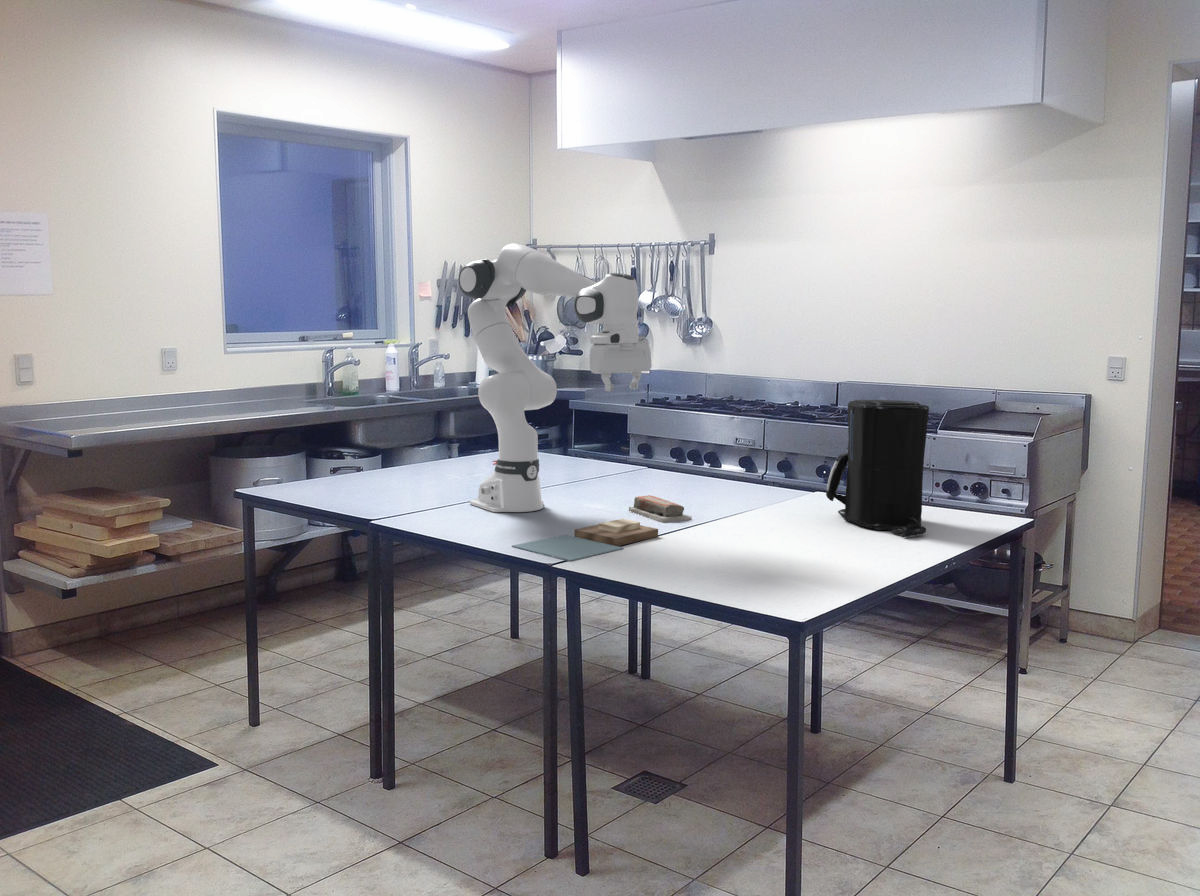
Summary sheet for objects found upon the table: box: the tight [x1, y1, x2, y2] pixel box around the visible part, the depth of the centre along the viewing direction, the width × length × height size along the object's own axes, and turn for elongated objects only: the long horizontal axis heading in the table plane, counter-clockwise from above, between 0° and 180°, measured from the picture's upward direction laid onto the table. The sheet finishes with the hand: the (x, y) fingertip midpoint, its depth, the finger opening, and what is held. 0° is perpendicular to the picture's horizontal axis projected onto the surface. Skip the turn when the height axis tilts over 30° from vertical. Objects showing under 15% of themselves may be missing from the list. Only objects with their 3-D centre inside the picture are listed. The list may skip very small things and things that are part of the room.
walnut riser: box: [573, 524, 659, 547], centre depth 262 cm, size 14×16×2 cm
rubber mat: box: [511, 533, 624, 562], centre depth 250 cm, size 20×18×1 cm
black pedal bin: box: [825, 399, 930, 539], centre depth 280 cm, size 23×32×34 cm
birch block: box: [597, 518, 641, 533], centre depth 263 cm, size 9×6×2 cm, turn 136°
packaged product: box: [628, 494, 693, 523], centre depth 291 cm, size 18×5×10 cm
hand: (621, 390), depth 269 cm, fingers open, 8 cm apart
